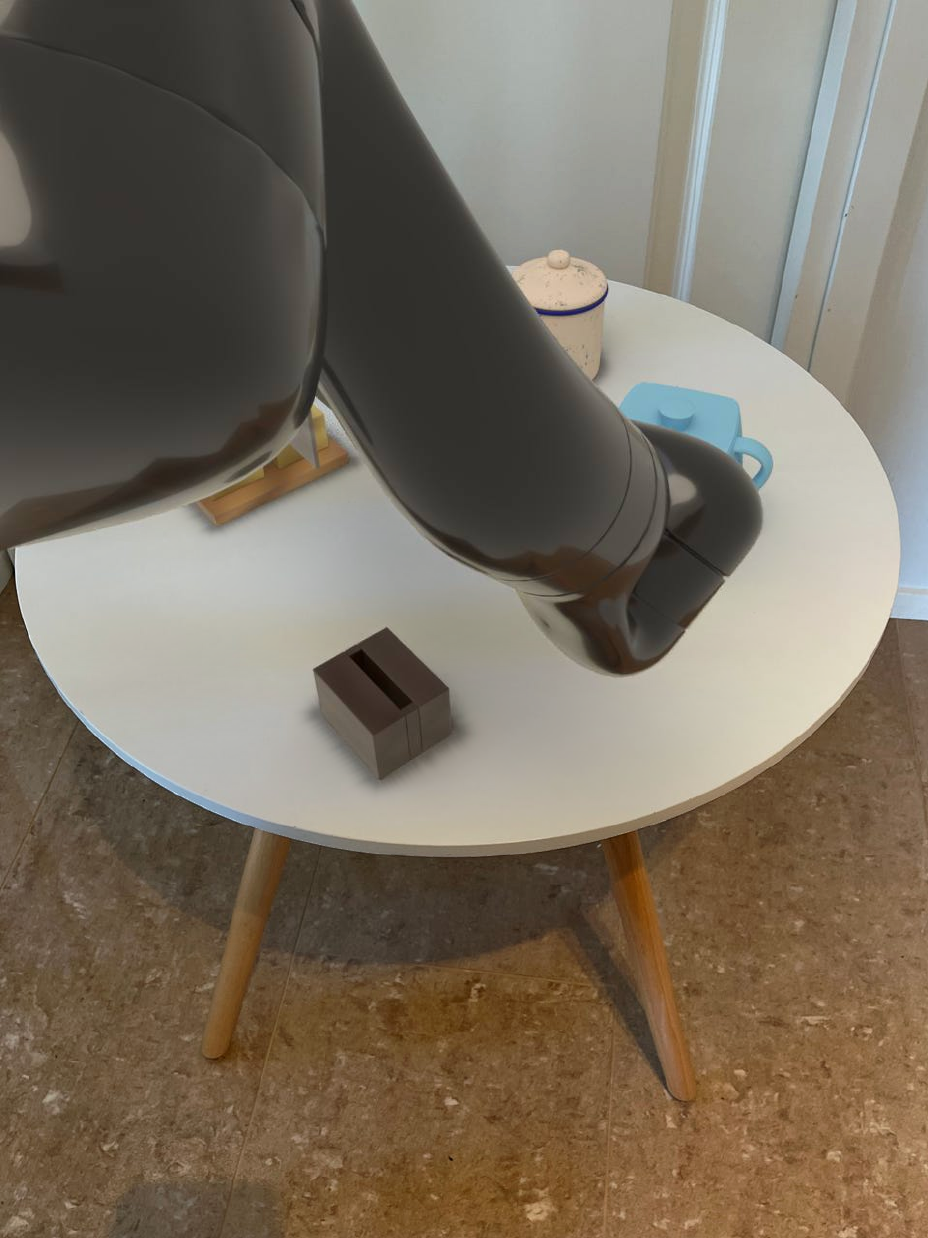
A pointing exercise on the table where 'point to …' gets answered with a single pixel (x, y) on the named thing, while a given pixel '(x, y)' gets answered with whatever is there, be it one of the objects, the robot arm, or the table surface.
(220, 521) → the butter
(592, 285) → the teacup with lid
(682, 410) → the teapot
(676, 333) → the table surface
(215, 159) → the robot arm
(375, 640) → the knife holder
